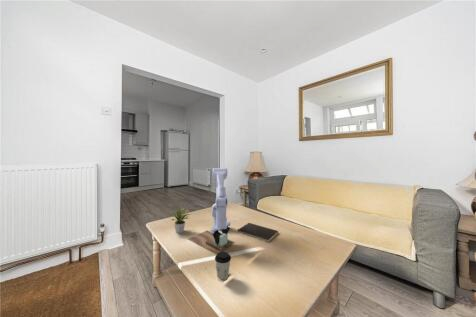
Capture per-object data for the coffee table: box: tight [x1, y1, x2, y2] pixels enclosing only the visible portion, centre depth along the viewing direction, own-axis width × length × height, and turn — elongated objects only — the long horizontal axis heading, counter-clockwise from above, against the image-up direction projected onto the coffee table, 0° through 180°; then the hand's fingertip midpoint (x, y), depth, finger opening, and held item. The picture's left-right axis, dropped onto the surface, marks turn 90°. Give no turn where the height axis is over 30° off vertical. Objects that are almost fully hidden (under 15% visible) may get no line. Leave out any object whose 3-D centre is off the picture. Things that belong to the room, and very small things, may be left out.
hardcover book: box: [237, 222, 279, 243], centre depth 116 cm, size 16×23×2 cm
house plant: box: [171, 207, 192, 234], centre depth 114 cm, size 14×14×16 cm
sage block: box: [214, 231, 229, 247], centre depth 97 cm, size 5×6×7 cm
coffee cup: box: [214, 251, 232, 282], centre depth 73 cm, size 7×7×10 cm
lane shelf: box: [187, 230, 236, 255], centre depth 102 cm, size 16×25×2 cm, turn 52°
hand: (220, 241), depth 97 cm, fingers closed on sage block, 5 cm apart
